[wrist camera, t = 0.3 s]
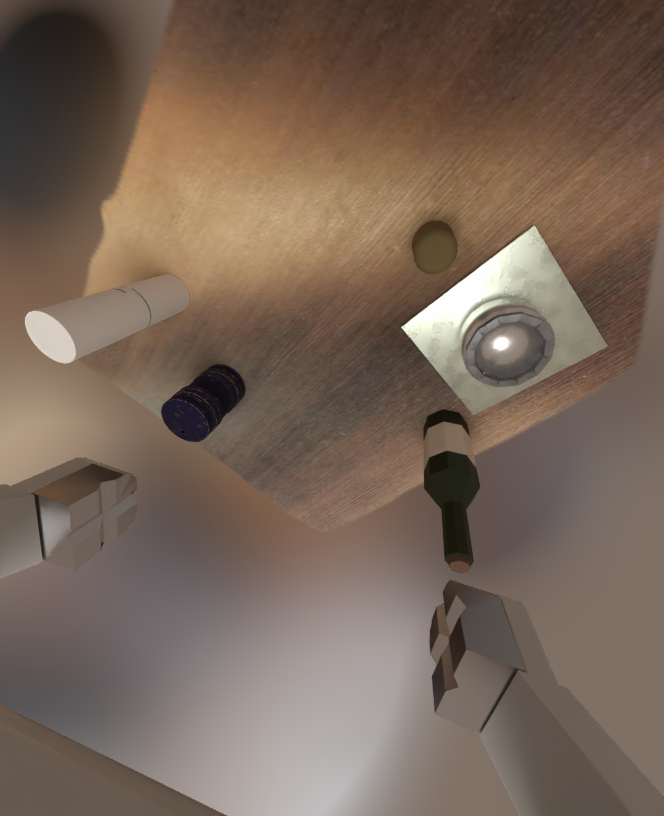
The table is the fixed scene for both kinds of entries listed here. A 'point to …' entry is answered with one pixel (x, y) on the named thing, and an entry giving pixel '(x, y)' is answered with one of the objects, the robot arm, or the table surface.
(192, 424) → the storage jar
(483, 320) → the duct stub
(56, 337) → the cylindrical container
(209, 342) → the table surface
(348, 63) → the table surface
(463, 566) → the wine bottle
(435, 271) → the cork
